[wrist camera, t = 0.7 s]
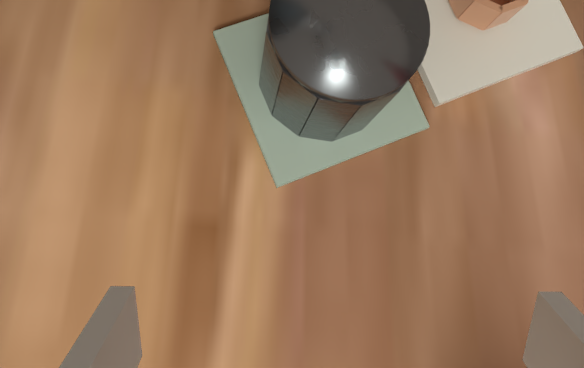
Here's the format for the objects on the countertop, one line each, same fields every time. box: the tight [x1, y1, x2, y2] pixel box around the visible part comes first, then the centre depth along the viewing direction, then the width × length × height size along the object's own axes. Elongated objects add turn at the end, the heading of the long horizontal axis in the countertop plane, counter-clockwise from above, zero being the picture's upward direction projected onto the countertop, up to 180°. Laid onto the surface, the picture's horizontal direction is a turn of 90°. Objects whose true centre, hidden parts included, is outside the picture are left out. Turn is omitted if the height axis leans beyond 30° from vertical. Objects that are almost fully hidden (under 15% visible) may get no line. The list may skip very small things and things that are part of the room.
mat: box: [213, 13, 430, 188], centre depth 40 cm, size 14×14×1 cm
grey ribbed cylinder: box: [259, 0, 430, 142], centre depth 35 cm, size 10×10×10 cm
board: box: [418, 0, 583, 107], centre depth 43 cm, size 15×15×1 cm
